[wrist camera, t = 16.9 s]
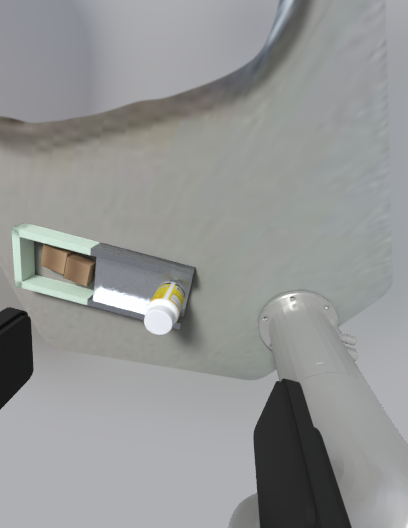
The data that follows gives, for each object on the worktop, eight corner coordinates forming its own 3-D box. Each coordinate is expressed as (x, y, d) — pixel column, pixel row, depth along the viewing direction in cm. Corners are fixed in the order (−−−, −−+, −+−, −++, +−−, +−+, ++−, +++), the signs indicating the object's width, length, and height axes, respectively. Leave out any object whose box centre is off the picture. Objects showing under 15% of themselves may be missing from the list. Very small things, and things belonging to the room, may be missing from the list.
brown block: (97, 261, 43) (90, 265, 41) (93, 280, 44) (86, 286, 42) (75, 252, 42) (67, 256, 40) (71, 272, 44) (63, 277, 42)
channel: (195, 267, 41) (192, 274, 38) (182, 319, 45) (179, 329, 42) (100, 242, 41) (90, 248, 38) (96, 296, 45) (87, 305, 42)
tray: (100, 242, 41) (90, 248, 38) (96, 296, 45) (87, 305, 42) (26, 223, 41) (11, 227, 38) (28, 278, 45) (15, 286, 42)
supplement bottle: (155, 301, 43) (137, 331, 35) (160, 277, 41) (143, 303, 33) (182, 309, 43) (170, 341, 35) (189, 285, 41) (178, 313, 33)
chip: (75, 249, 42) (67, 253, 40) (71, 269, 44) (63, 274, 42) (52, 240, 42) (43, 244, 40) (49, 260, 44) (40, 265, 42)
